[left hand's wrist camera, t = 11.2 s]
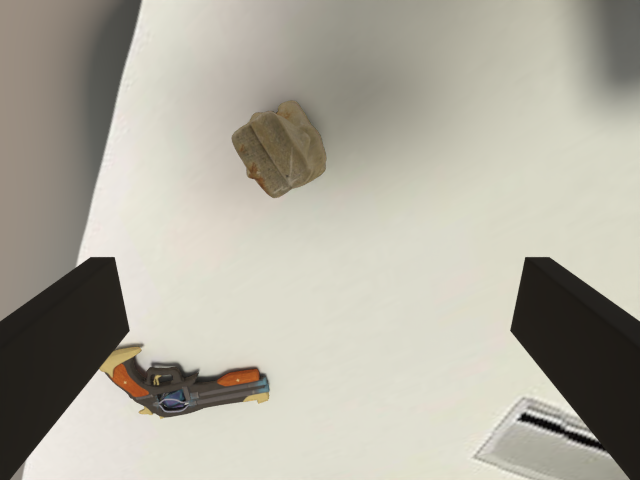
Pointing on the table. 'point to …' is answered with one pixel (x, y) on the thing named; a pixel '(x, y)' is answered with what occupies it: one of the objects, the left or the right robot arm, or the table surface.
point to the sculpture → (280, 149)
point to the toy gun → (181, 386)
